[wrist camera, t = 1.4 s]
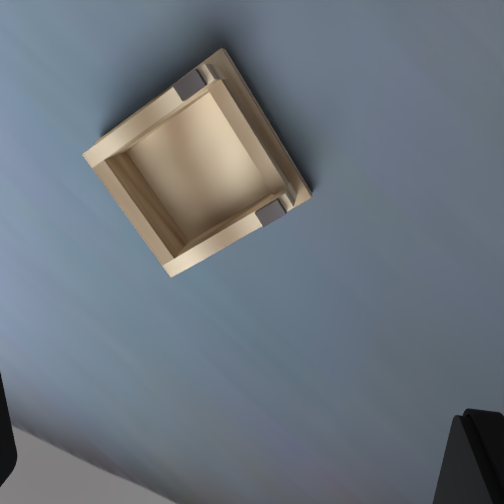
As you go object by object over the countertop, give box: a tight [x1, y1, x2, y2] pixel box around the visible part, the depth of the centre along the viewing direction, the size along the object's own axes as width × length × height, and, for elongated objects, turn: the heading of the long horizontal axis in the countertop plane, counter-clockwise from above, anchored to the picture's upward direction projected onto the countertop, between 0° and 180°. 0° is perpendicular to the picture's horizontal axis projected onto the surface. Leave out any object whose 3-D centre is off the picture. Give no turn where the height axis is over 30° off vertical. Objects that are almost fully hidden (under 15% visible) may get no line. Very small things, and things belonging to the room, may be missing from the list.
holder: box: [82, 48, 312, 277], centre depth 30 cm, size 11×11×5 cm
